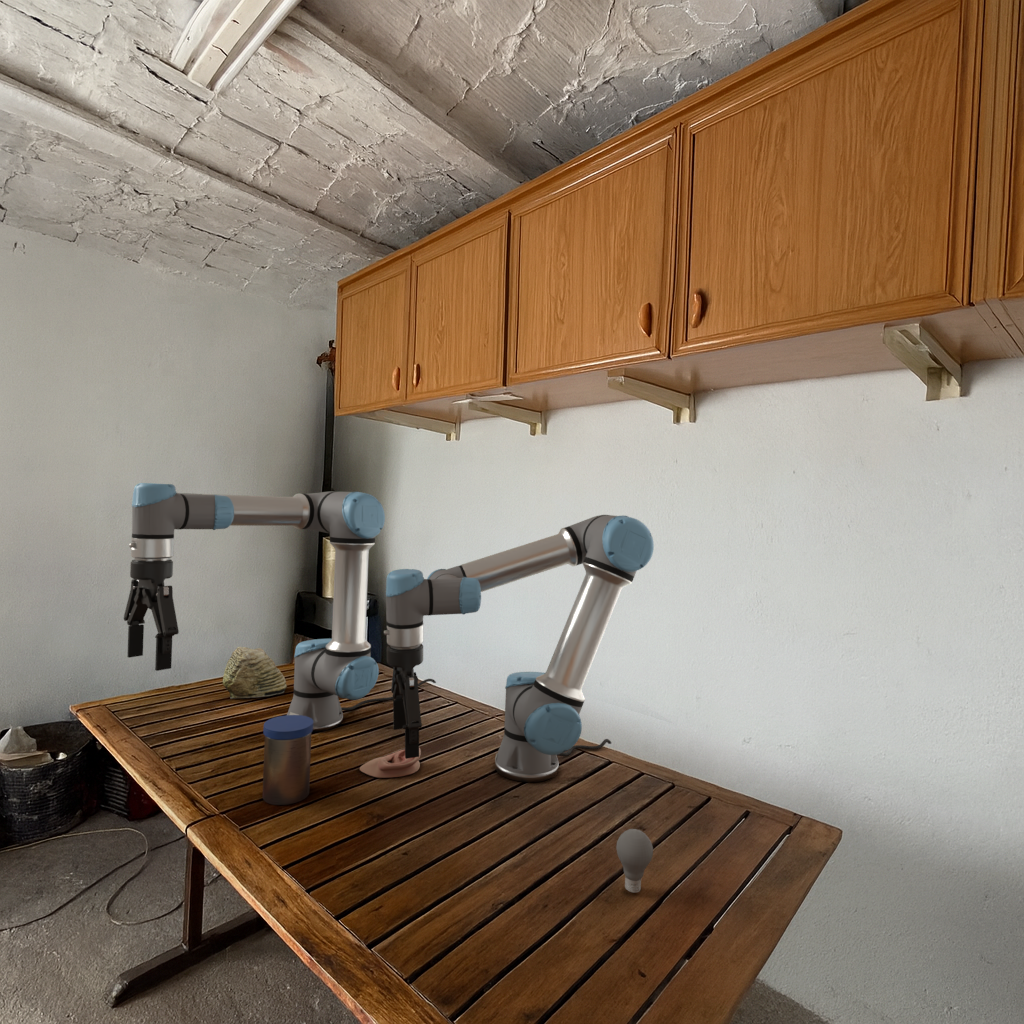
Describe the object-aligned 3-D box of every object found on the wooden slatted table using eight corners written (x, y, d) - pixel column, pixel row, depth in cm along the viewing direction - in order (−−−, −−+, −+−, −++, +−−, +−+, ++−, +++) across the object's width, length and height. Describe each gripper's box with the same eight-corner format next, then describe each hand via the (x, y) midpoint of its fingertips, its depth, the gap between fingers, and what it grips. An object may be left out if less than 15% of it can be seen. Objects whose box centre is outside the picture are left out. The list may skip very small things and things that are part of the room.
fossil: (218, 695, 195) (220, 647, 195) (278, 685, 208) (279, 640, 207) (228, 703, 189) (230, 653, 188) (289, 692, 201) (290, 645, 201)
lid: (259, 740, 128) (259, 732, 128) (267, 723, 138) (267, 715, 138) (311, 738, 130) (311, 730, 130) (314, 721, 140) (315, 714, 140)
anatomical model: (354, 757, 144) (374, 739, 156) (353, 774, 145) (374, 755, 156) (409, 764, 142) (426, 745, 153) (408, 782, 142) (425, 762, 153)
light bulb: (610, 879, 108) (613, 822, 108) (644, 879, 109) (647, 822, 109) (619, 902, 102) (622, 840, 102) (655, 901, 103) (658, 840, 103)
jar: (259, 806, 128) (261, 734, 128) (266, 786, 138) (268, 718, 137) (307, 803, 131) (309, 732, 130) (310, 783, 140) (313, 716, 139)
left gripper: (108, 554, 134) (104, 654, 134) (159, 565, 118) (155, 678, 119) (146, 552, 140) (143, 648, 140) (199, 563, 124) (195, 671, 124)
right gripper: (377, 629, 142) (378, 720, 144) (397, 666, 119) (398, 773, 121) (411, 626, 144) (411, 715, 147) (436, 661, 121) (437, 767, 123)
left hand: (148, 662), depth 129 cm, fingers open, 13 cm apart
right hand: (405, 742), depth 134 cm, fingers open, 13 cm apart
